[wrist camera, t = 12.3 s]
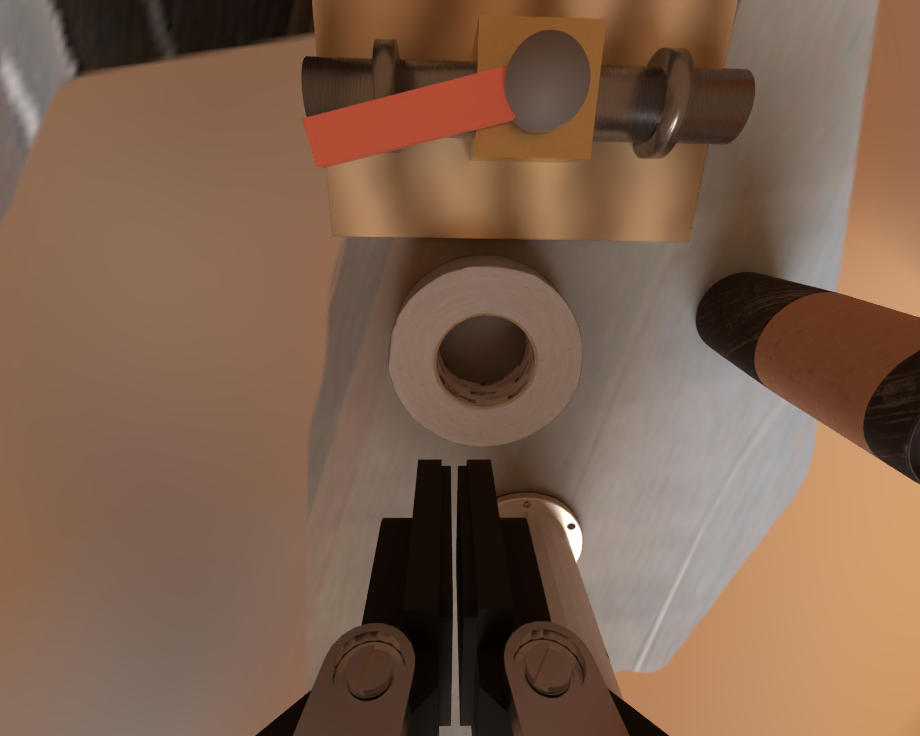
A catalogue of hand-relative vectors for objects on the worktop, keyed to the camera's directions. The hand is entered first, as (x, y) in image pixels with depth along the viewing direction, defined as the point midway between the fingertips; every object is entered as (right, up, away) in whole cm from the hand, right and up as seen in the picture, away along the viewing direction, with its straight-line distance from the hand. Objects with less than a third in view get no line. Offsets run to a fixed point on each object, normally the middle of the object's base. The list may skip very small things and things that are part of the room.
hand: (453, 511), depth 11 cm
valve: (+4, +22, +23) cm, 32 cm away
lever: (-1, +18, +16) cm, 24 cm away
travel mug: (+24, +8, +29) cm, 39 cm away
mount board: (+4, +22, +23) cm, 32 cm away
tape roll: (+2, +6, +30) cm, 30 cm away
